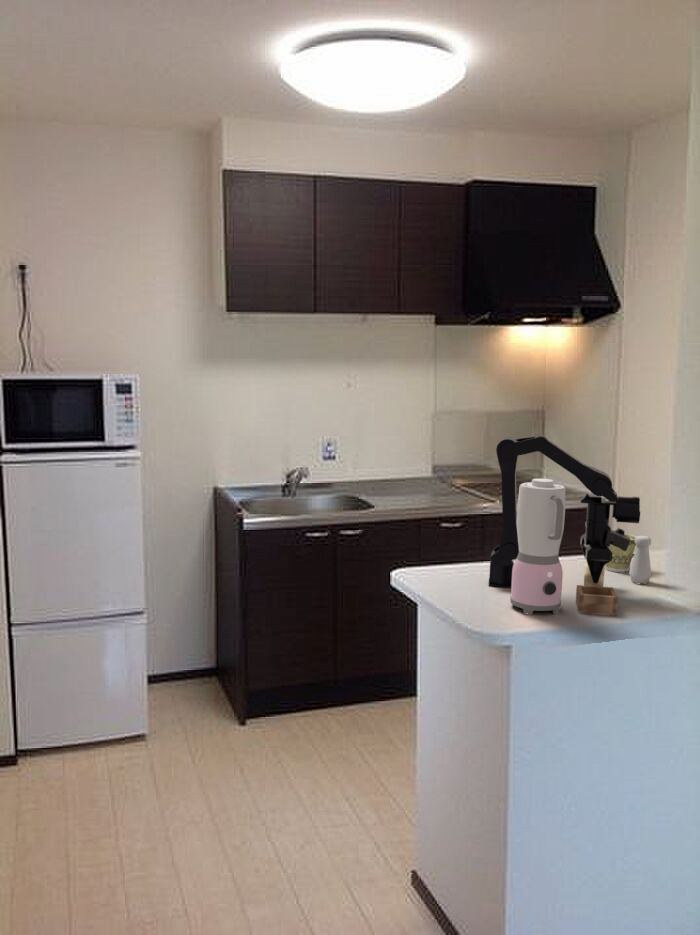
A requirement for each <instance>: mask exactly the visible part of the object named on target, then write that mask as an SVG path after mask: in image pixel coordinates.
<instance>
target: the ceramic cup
mask: <svg viewBox="0 0 700 935" xmlns="http://www.w3.org/2000/svg"><path fill="white" fill-rule="evenodd" d="M624 534H625V536H627V537H629V538H630V539H631V542H630V544H629V546H628V548H627V550H626V551H623V550H621V549H620V548H618V547H616V546H613V545H611V544H610V547H608V546H607V547H608V548H609V549H610V550H611V551H612V560H611V561H610V562H609V563H607V564H605V568H606V569H607V570H606V569H605V570H606V571H608V570H610V571H609V572H612V571H614V572H613V573H626V572H625V571H627V572H630V568H631V565H632V561H633V557H634V554H635V550H636V547H637V545H636V544H635V537H636V536H637V535H634V534H630V533H625V532H624Z"/></svg>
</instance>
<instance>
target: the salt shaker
mask: <svg viewBox="0 0 700 935" xmlns="http://www.w3.org/2000/svg"><path fill="white" fill-rule="evenodd" d="M635 536H636V537H635V544H636V546H635V549H634V553H633V554H634V556H633V558H632V560H631V564H630V568H629V571H628V572H629V573H628V574H629V576H630V581H631V582H632V583H633V582H635V583H634V584H636V583H642V584H641V585H646V584H645V583H647V584H648V583H649V581H651V578H652V568H651V559H650V550H649V546H651V544H652V539H651V537H650V536H647V535H642V534H641V535H635Z"/></svg>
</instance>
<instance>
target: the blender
mask: <svg viewBox="0 0 700 935" xmlns="http://www.w3.org/2000/svg"><path fill="white" fill-rule="evenodd" d="M565 516H566V487H565V486H564V485H562V484H558V483H554V480H552V479H551V478H550V479H549V478H532V480H531V481H530V482H523V483H521V484H519V490H518V499H517V534H518V544H519V553H518V556H517V557H516V558H515V560H514V565H513V569H512V587H510V589H511V591H510V593H511V594H510V604H511V605H512V606H514V607H517V608H521V609H523V614H524V613H528V614H527V615H529V614H532V615H533V613H534V612H533V611H537V612H538V611H540V612H541V611H542V612H543V611H544V612H547V611H552V614H553V613H554V614H553V615H556V613H557V614H558V613H560V608H561V606H562V588H563V574H564V572H563V567H562V564H561V561H560V558H559V552H560V546H561V543H562V538H563V534H564V530H565V528H564V527H565V519H566V518H565Z"/></svg>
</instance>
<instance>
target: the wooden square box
mask: <svg viewBox="0 0 700 935" xmlns="http://www.w3.org/2000/svg"><path fill="white" fill-rule="evenodd" d="M575 606H576V609H577V612H578V614H585V615H586V614H587V615H599V616H615V617H616V616H617V610H618V595H617V593H616V592H615V589H614V588H613V587H611V586H610V587H609V586H603V587H598V586H584V584H583V585H582V584H581V585H580V584H577V585H576V591H575Z"/></svg>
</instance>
